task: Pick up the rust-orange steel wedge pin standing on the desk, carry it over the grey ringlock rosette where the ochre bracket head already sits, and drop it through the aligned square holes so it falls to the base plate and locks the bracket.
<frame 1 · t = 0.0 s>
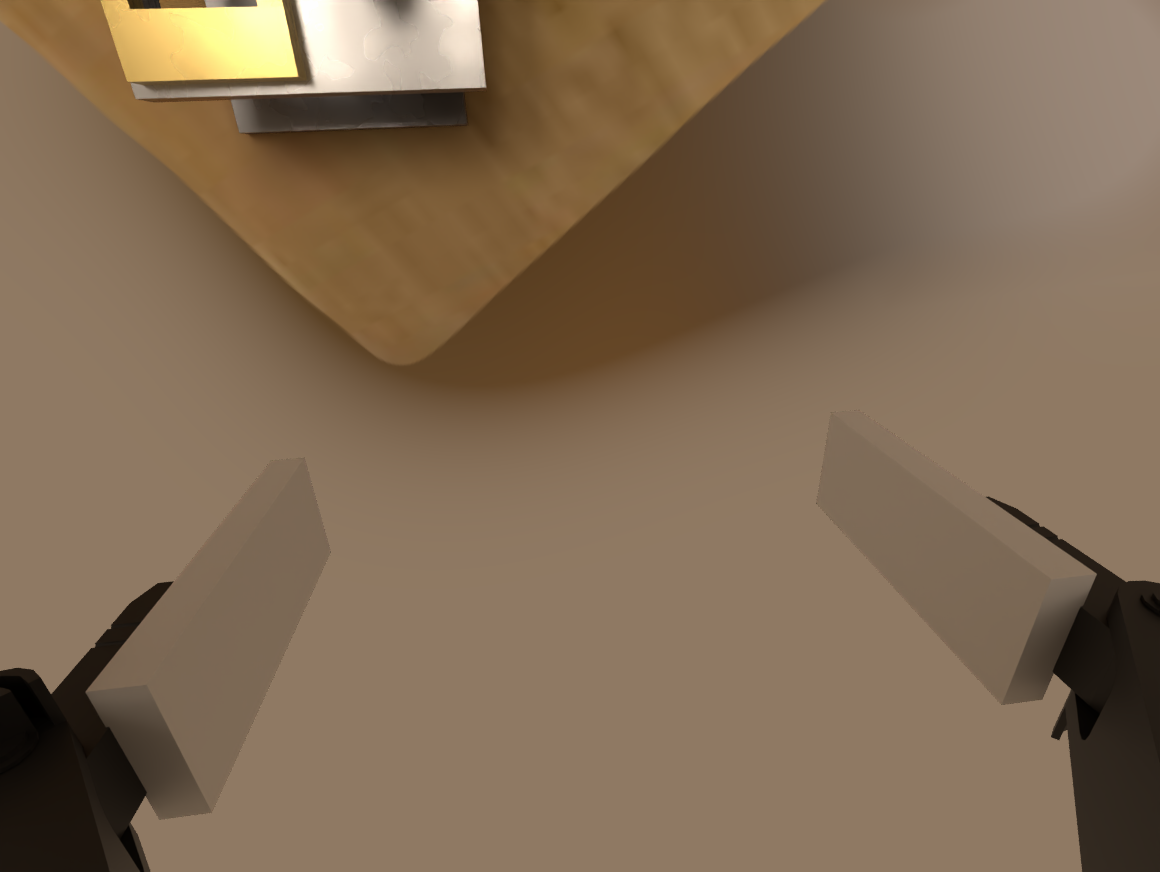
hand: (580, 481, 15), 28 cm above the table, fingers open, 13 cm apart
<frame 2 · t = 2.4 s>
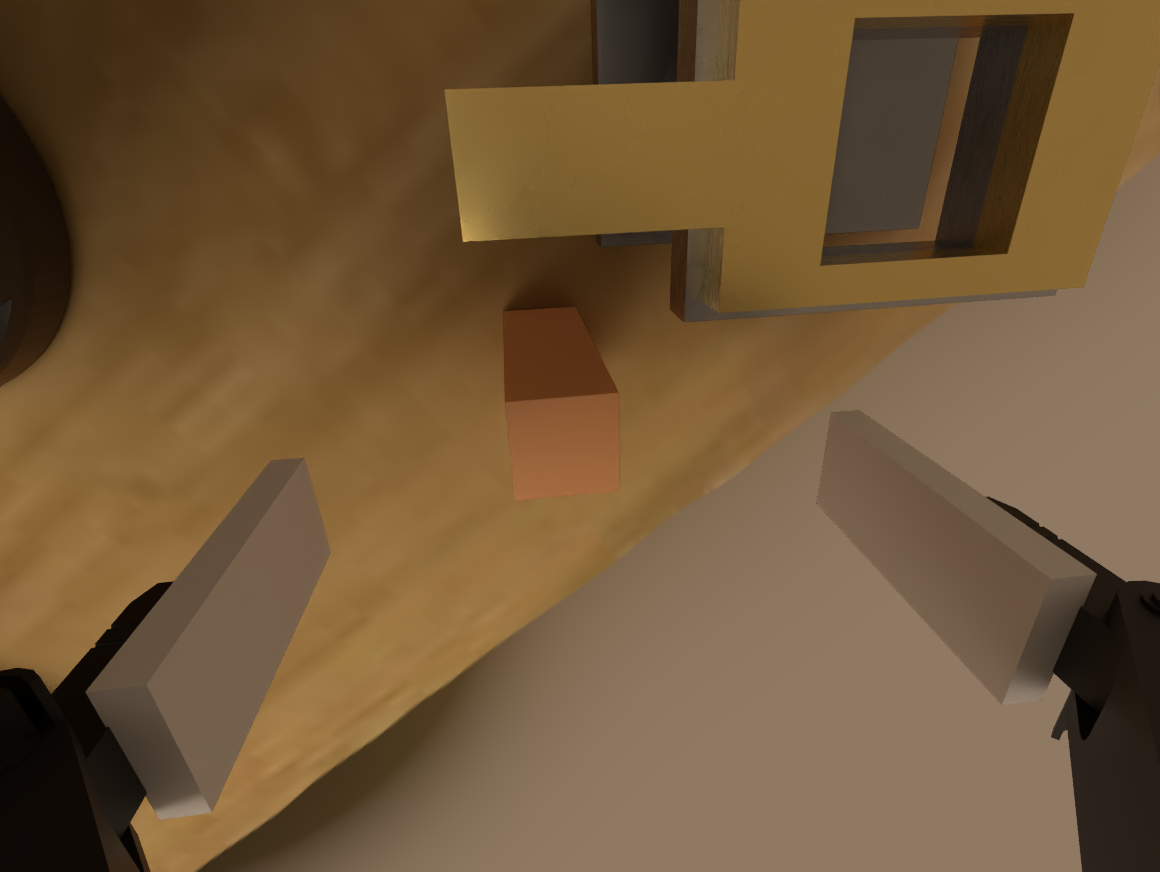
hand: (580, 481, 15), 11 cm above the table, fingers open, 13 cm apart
wedge pin: (541, 343, 25), on the table
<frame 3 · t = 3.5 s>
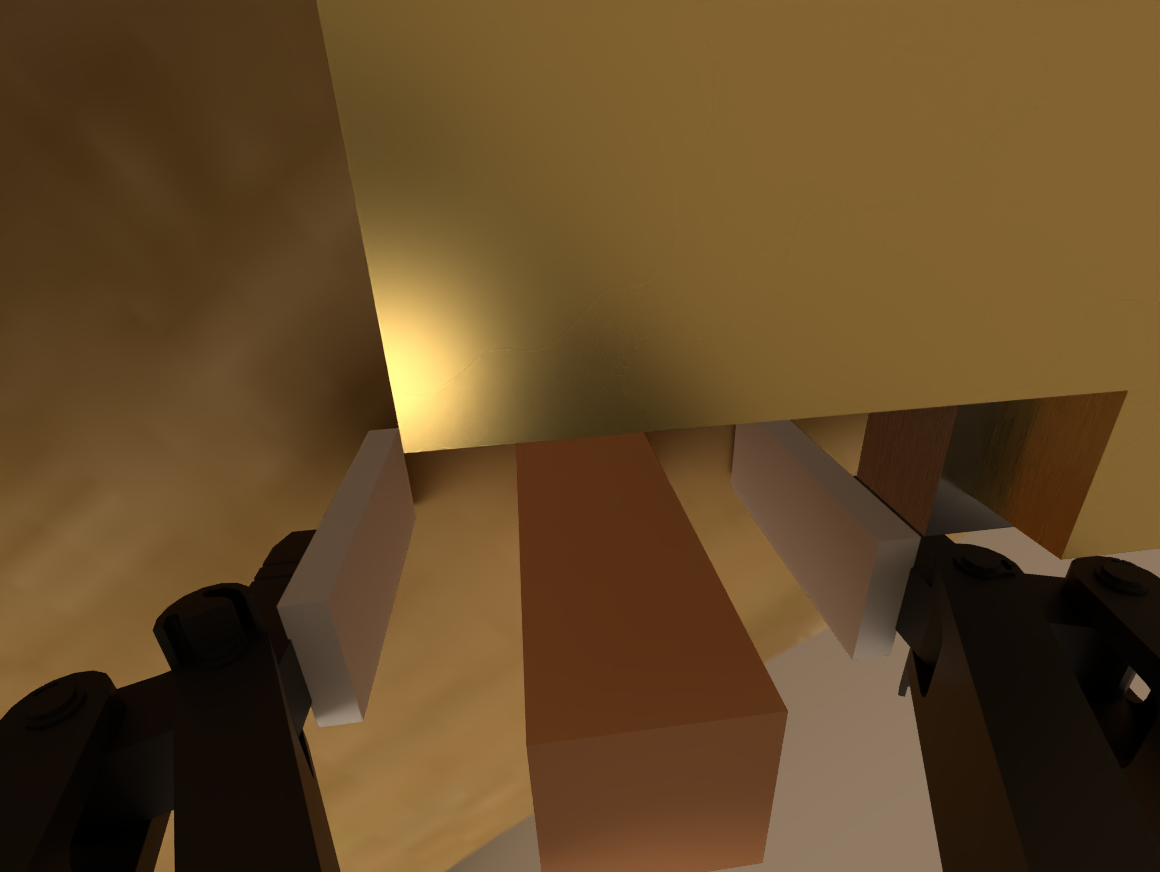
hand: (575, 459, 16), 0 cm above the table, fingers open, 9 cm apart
wedge pin: (573, 450, 16), on the table
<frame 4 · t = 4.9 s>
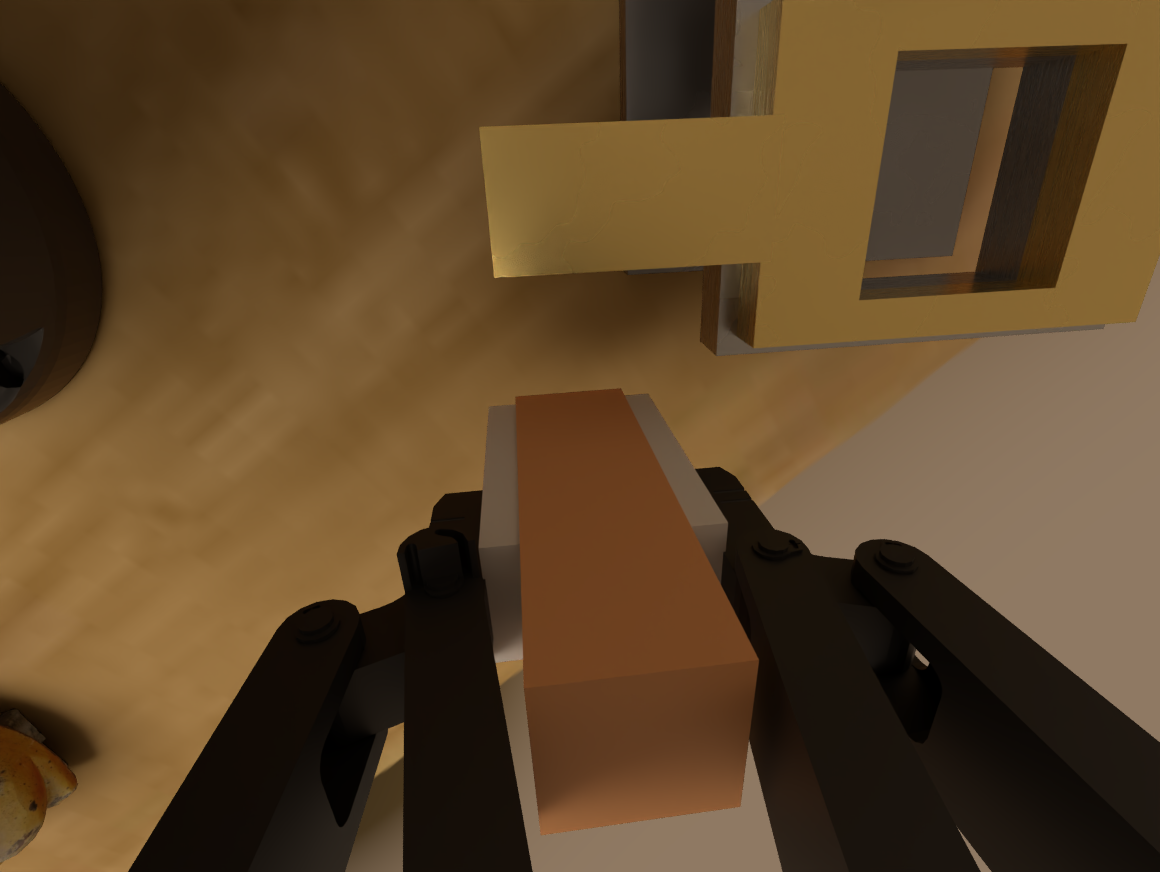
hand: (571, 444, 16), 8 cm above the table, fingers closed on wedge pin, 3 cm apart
wedge pin: (571, 440, 17), point 8 cm above the table, touching gripper
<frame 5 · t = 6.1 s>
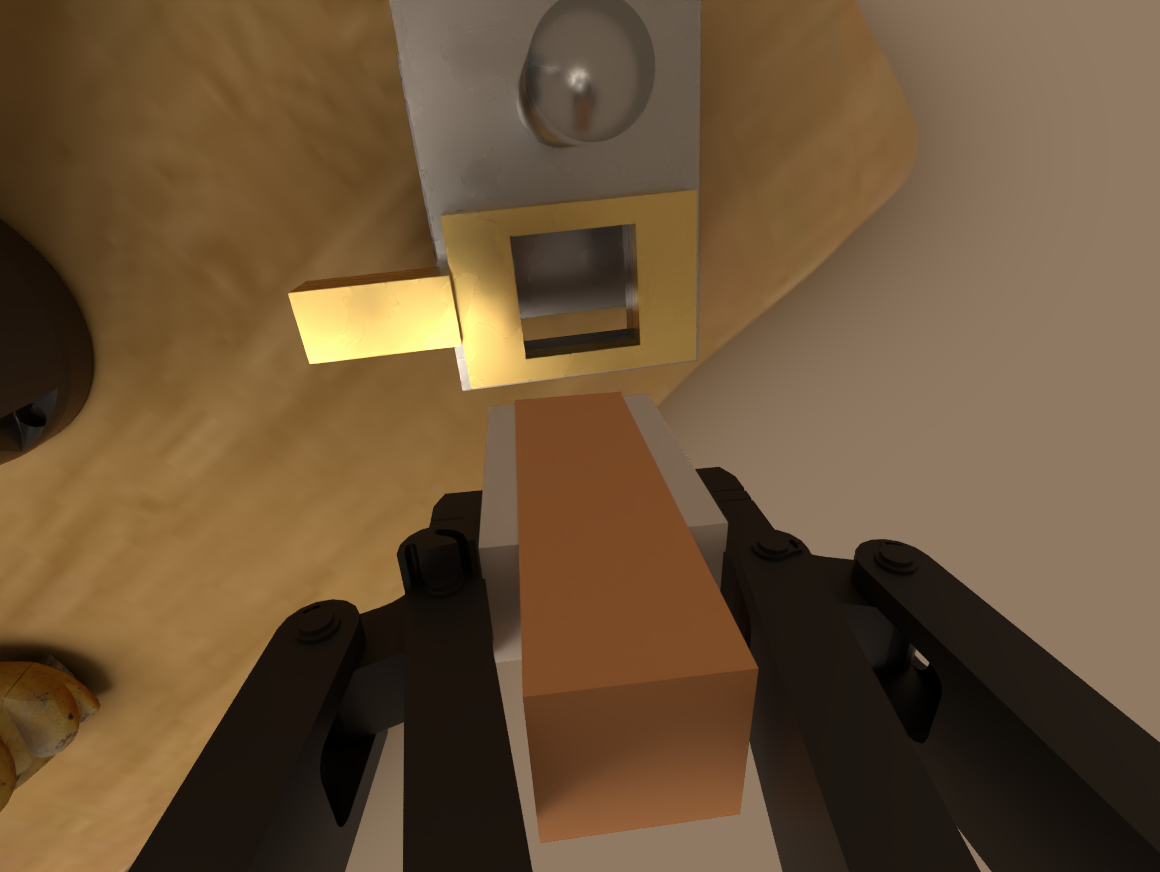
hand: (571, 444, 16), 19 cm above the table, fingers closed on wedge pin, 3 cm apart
decorative figurine: (31, 681, 40), on the table
wedge pin: (570, 443, 17), point 19 cm above the table, touching gripper
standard: (540, 116, 30), on the table
when the fingers open (11 cm above the table, at t = 7.8 s): wedge pin drops 9 cm, resting on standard.
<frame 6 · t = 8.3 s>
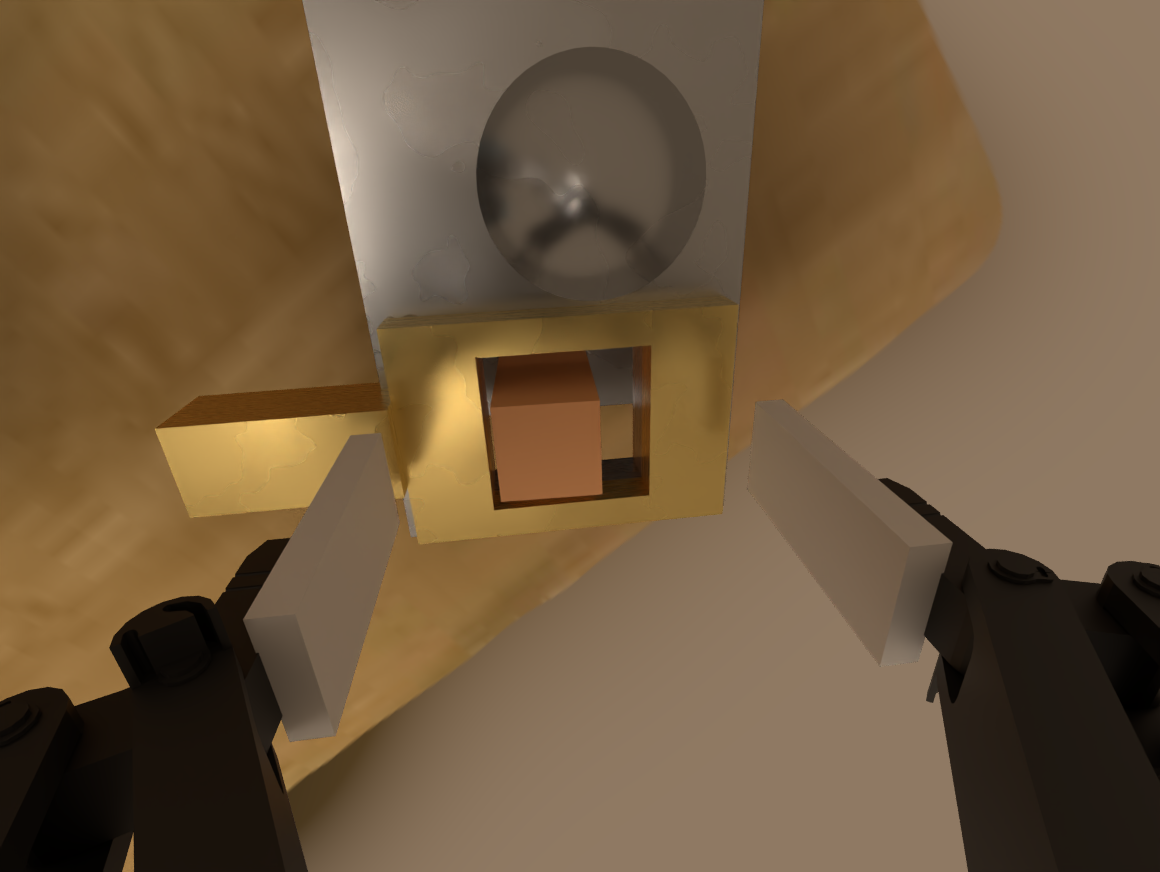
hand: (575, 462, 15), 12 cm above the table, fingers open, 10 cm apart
wedge pin: (542, 350, 25), point 1 cm above the table, touching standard
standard: (536, 173, 23), on the table
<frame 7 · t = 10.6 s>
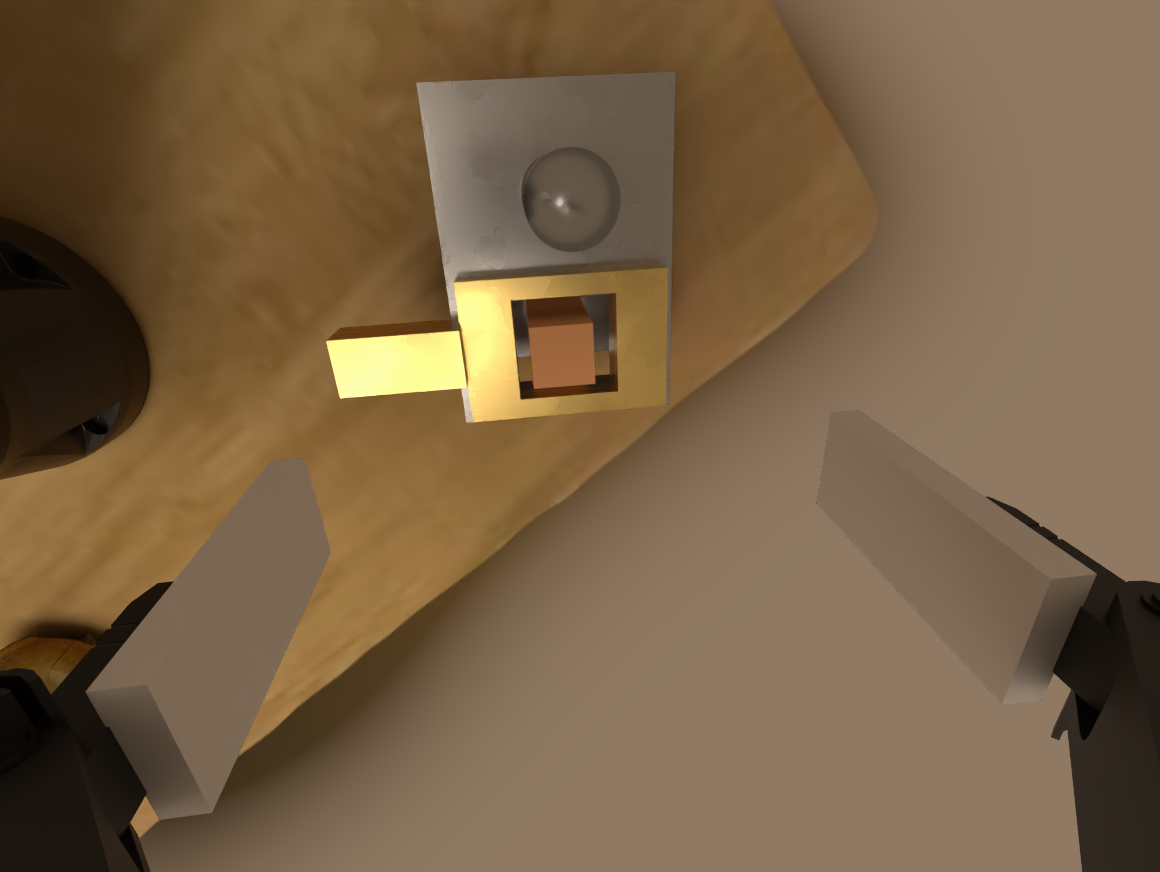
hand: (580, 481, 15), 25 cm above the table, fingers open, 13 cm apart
decorative figurine: (69, 657, 45), on the table
wedge pin: (550, 309, 36), point 1 cm above the table, touching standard
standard: (545, 186, 34), on the table
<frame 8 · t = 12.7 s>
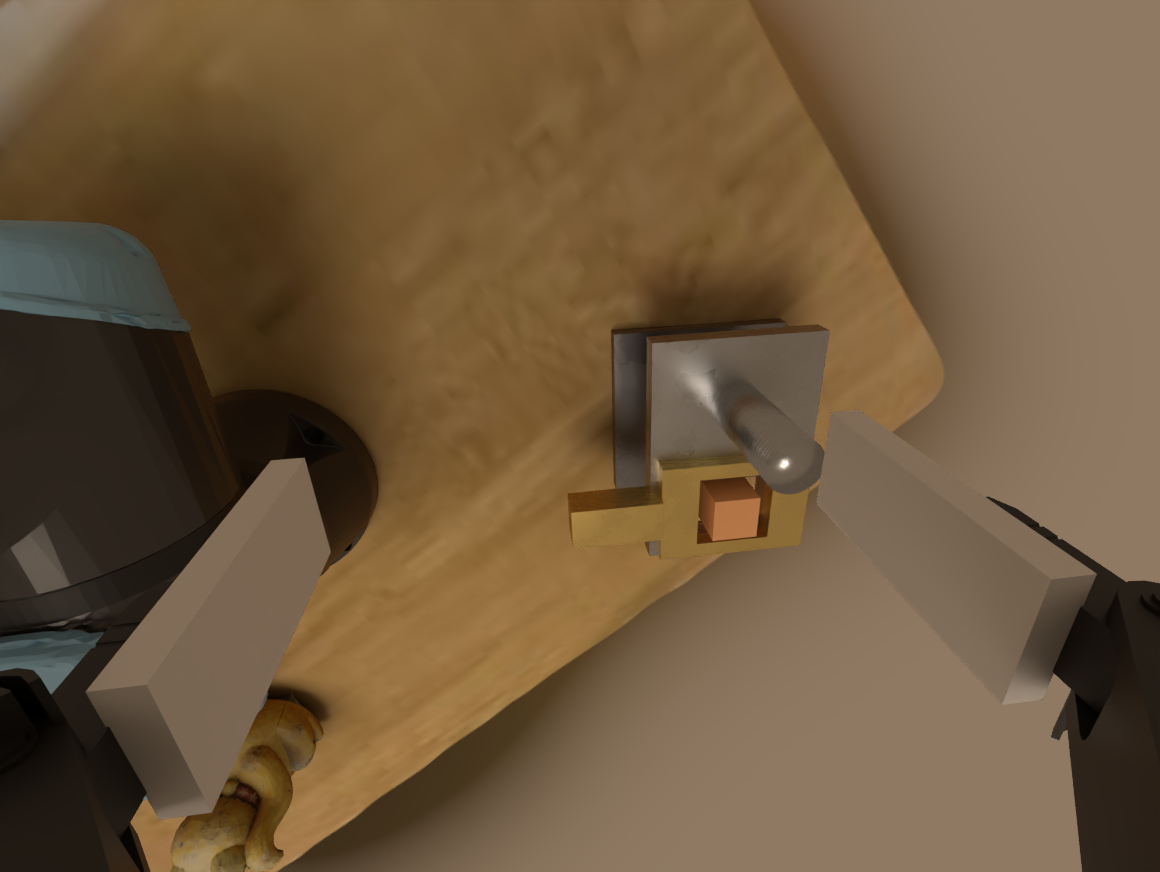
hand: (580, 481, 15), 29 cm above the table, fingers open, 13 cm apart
decorative figurine: (271, 712, 55), on the table
wedge pin: (691, 451, 46), point 1 cm above the table, touching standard
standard: (694, 362, 44), on the table
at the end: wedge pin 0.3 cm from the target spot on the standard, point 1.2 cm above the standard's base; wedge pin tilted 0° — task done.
